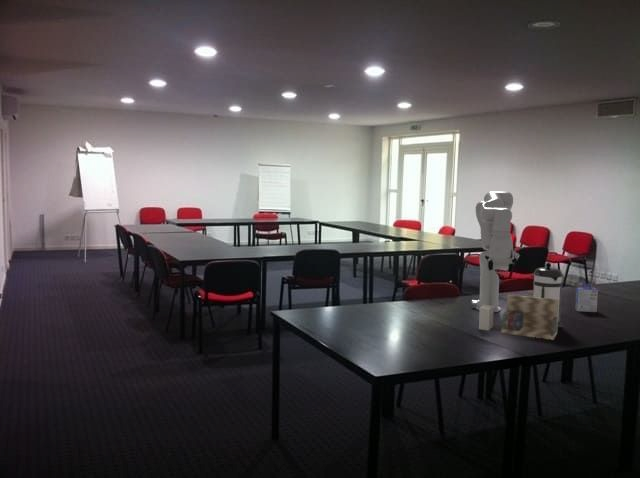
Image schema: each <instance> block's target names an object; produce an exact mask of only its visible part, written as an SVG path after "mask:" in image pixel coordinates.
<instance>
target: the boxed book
mask: <svg viewBox="0 0 640 478" xmlns="http://www.w3.org/2000/svg"><path fill="white" fill-rule="evenodd" d="M493 309H494V306H491V305H483V306H482V307H480V310H478V311H479V313H478V314H479V315H478V330H481V331H482V330H484V331H490V330H491V329H492V328H493V327H494V312H493Z"/></svg>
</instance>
